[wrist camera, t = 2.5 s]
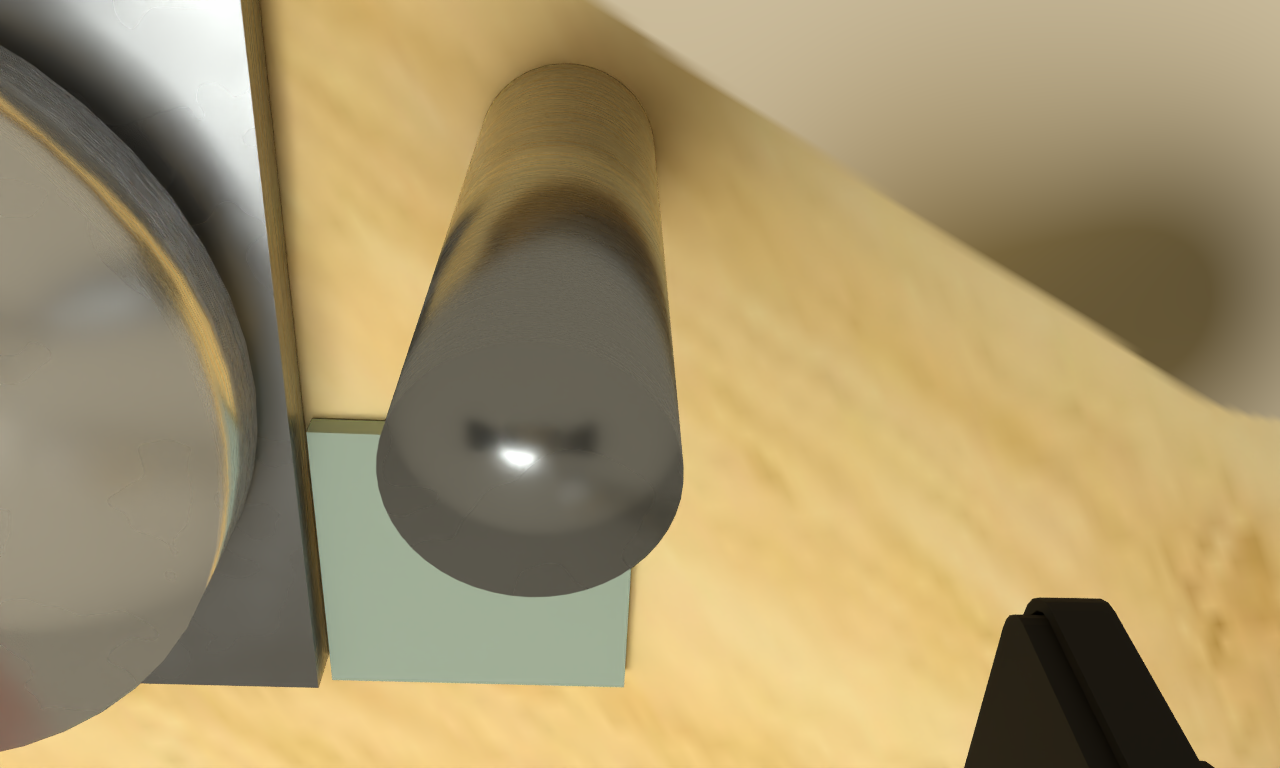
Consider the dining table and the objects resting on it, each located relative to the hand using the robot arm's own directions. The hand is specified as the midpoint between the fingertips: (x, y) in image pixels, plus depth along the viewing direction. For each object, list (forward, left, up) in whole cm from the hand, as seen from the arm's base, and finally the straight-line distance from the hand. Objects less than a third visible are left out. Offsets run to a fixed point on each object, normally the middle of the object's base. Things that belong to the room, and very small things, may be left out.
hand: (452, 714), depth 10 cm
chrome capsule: (0, 0, -16) cm, 16 cm away
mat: (+2, +11, -16) cm, 20 cm away
